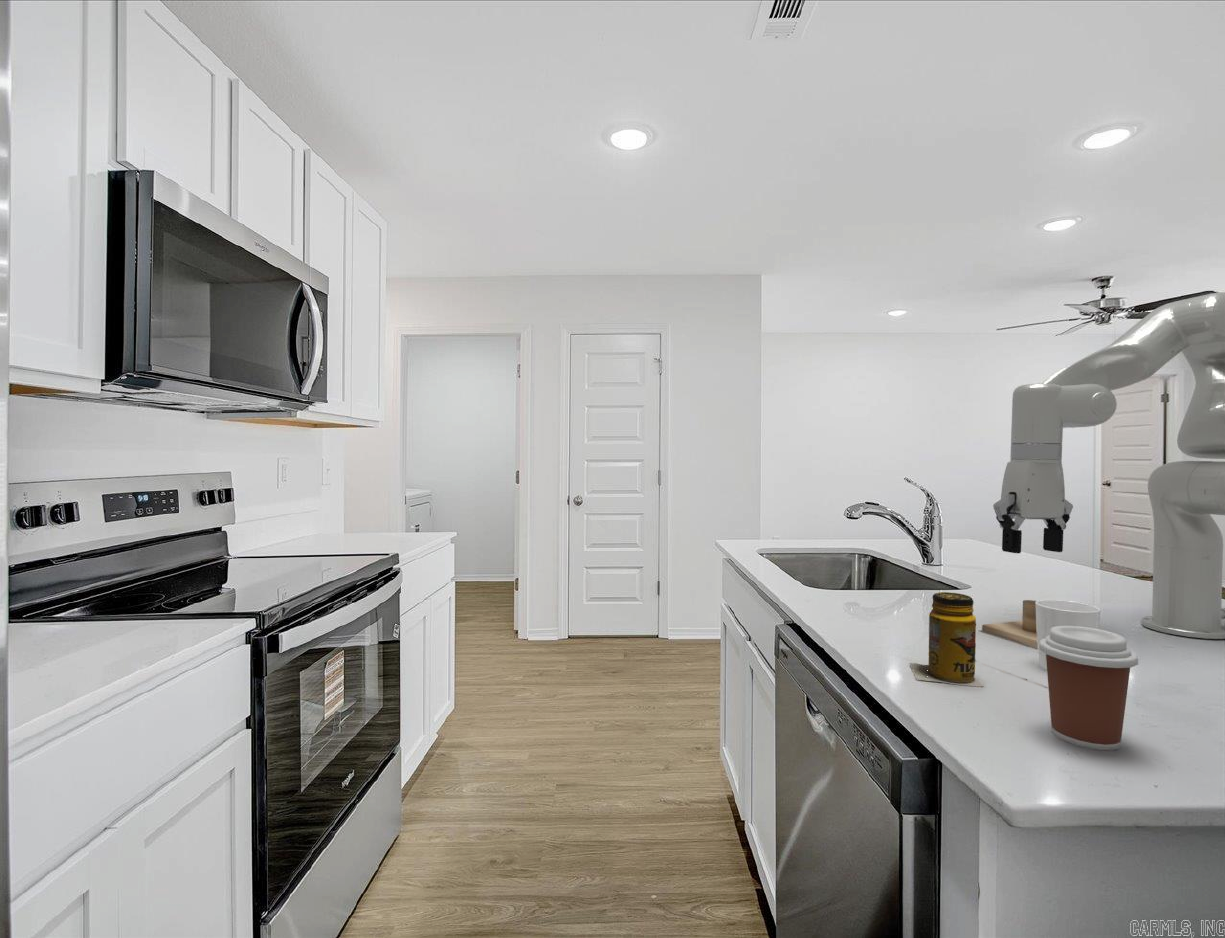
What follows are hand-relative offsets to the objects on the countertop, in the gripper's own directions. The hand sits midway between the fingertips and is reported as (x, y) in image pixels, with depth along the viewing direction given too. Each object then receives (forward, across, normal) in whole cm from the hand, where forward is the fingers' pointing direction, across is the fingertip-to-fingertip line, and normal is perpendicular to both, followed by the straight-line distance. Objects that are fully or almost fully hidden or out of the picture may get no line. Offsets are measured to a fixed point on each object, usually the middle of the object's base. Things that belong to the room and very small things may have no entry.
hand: (1032, 551), depth 111 cm
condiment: (+16, +29, +10) cm, 35 cm away
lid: (+15, -1, 0) cm, 15 cm away
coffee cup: (+16, +30, +31) cm, 46 cm away
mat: (+16, -1, 0) cm, 16 cm away
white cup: (+16, +10, +14) cm, 24 cm away
